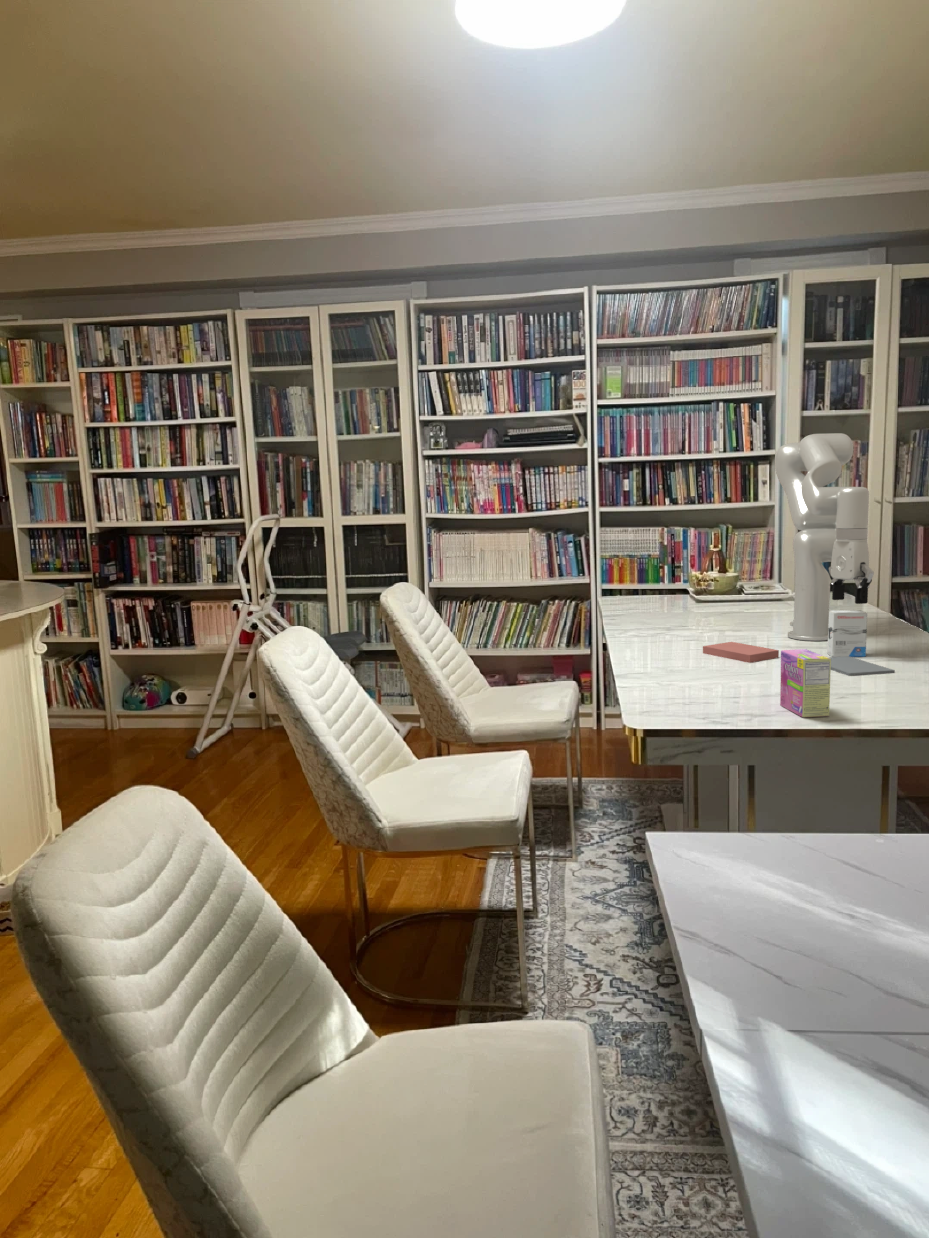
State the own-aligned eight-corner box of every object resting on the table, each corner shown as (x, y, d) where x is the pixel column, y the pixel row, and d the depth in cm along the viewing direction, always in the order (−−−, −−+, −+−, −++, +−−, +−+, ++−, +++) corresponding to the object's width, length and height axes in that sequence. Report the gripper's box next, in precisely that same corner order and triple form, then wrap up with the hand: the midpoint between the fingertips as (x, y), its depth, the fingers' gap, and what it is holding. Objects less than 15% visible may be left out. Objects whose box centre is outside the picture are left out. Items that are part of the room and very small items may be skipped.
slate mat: (806, 661, 230) (806, 658, 230) (848, 658, 232) (848, 656, 232) (849, 675, 213) (849, 673, 213) (894, 672, 215) (894, 670, 215)
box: (778, 705, 187) (780, 649, 185) (805, 704, 187) (807, 648, 186) (801, 718, 177) (803, 659, 175) (829, 717, 177) (831, 658, 175)
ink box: (859, 653, 239) (861, 609, 237) (866, 657, 234) (868, 612, 232) (826, 653, 240) (828, 609, 238) (832, 657, 235) (833, 612, 233)
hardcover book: (702, 655, 244) (702, 646, 243) (731, 650, 249) (731, 641, 249) (749, 664, 230) (749, 655, 230) (778, 659, 236) (778, 650, 235)
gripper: (819, 534, 239) (817, 599, 242) (859, 536, 223) (857, 605, 225) (844, 534, 241) (842, 597, 243) (886, 536, 224) (883, 604, 226)
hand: (849, 601), depth 234 cm, fingers open, 9 cm apart
